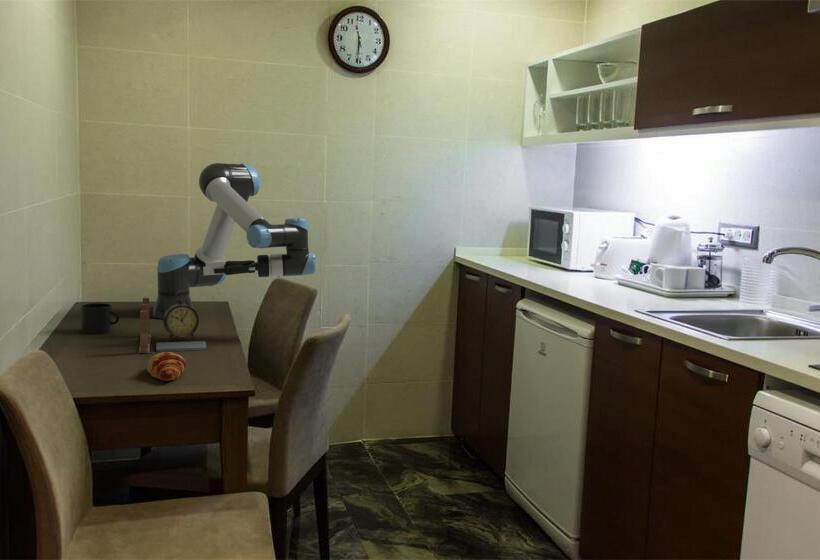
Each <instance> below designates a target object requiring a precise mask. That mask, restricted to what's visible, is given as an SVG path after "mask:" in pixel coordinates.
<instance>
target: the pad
mask: <svg viewBox="0 0 820 560" xmlns="http://www.w3.org/2000/svg"><path fill="white" fill-rule="evenodd" d="M207 349H208V348H207V343H206V341H205V340H202V341H201V340H200V341H165V342H164V341H163V342H156V349H155V350H156V352H178V351H179V352H184V351H185V352H186V351H187V352H188V351H207Z"/></svg>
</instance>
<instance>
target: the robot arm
mask: <svg viewBox="0 0 820 560" xmlns="http://www.w3.org/2000/svg"><path fill="white" fill-rule="evenodd" d="M198 186H199V189H200V191H201V193H203V195H204V197H206V199H208V200H209V201H210V202H214V203H216V206H215V208H214V212H213V215H212V217H211V220H210V223H209V226H208V229H207V232H206V234H205V237H204V240H203V243H202V246H201V247H199V248H198V249H197V250H196V251H195V253H194V256H193V257H190V255H189V254H186V253H178V254H175V253H174V254H168V255H164V256H162V257H160V258H158V261H157V269H156V272H157V297H156V300H155V303H154V308H153V310H152V317H153V318H156V319H160V320H163V317H164V314H165V312H166V311H167V310H168V309H169V308H170V307H171V306H173V305H175V304H179V301H178V300H180V299H181V300H183V299H184V297H185V295H186V297H185V299H184V300H183V301H182V304H186V305H188V306H190V307H192V308H193V309H194V308H195V307H194V305H193V301H192V300H191V299H192V298H191V296H190V289H191V288H199V287H200V288H201V287H213V286H217V285H220V284H222V283H223V282H225V280H226V278H227V276H230V275H241V274H252V273H253V274H254V273H256V272H257V276H258V278H269V277H270V276H271V277H272V278H273V277H276V278H277V279H280V278H281V277H288V276H289V277H290V276H291V277H293V276H295V277H296V276H298V277H299V276H308V275H313V274H315V273H316V268H317V267H316V255H315V253H314V252H310V250H309V229H308V221H307V220H306V219H305V218H303V217H302V218H285V220H284V223H282V224H271V223H270V222H269V221H267V220H266V219H265V218H264V217H263V216H262V215H261V214H260V213H259V212H258V211H257V210H256V209H255V207H252V205H251V204H250V203H248V201H249V199H250V197H254V196H256V195H257V194H258V193H259V191H260V187H261V180H260V176H259V173H258V171H257V170H256V168H255V167H254V166H253V165H250V164H244V163H223V162H221V163H220V162H216V163H215V162H214V163H211V164H209V165H206V167H204V168H203V169H202V171H201V172H200V175H199V178H198ZM235 224H237V225H238V226H239V227H240V228H241V229H242V230H244V232H245V233H246V241H247V243H248V245H249V246H250V247H251V248H254V249H270V248H271V249H272V248H285V250H286V253H273V254H270V255H268V254H259V255H257V256H256V259H257V260H256V261H255V260H251V259H249V260H226V257H225V255H224V254H225V251H226V249H227V246H228V244H229V241H230V238H231V235H232V233H233V230H234V227H235ZM179 291H182V292H184V293H185V295H184V293H182V292H179ZM177 292H179V293H177ZM176 293H177V295H176ZM175 295H176V298H177V299H178V300H177V299H176V298H175ZM194 310H195V309H194Z"/></svg>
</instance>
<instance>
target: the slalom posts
mask: <svg viewBox="0 0 820 560" xmlns="http://www.w3.org/2000/svg"><path fill="white" fill-rule="evenodd" d="M139 320H140V321H139V326H140V329H139V331H140V332H139V333H140V335H139V336H140V337H139V338H140V339H139V341H140V342H139V348H138V354H139V353H149V354H150V351H151V349H150V348H151V343H152V342H151V339H152V333H150V332H151V331H150V297H143V298H142V303H141V310H139Z"/></svg>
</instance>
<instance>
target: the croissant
mask: <svg viewBox="0 0 820 560" xmlns="http://www.w3.org/2000/svg"><path fill="white" fill-rule="evenodd" d="M186 366H187V361H186V360H185V359H184V357H183V356H181V355H180V354H176V353H174V352H172V351H161V352H159V353H156V354H154V355H152V356H151V357H150V358H149V359H148V363H147V366H146V372H147V373H149V374H150V375H149V376H151V377H152V378H155V379H159V380H160V381H165V382H169V381H175V380H178V378H179V377H181V376H182V375H183V372H184V371H185V369H186Z"/></svg>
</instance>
